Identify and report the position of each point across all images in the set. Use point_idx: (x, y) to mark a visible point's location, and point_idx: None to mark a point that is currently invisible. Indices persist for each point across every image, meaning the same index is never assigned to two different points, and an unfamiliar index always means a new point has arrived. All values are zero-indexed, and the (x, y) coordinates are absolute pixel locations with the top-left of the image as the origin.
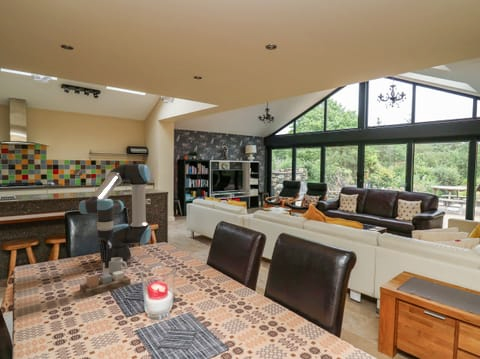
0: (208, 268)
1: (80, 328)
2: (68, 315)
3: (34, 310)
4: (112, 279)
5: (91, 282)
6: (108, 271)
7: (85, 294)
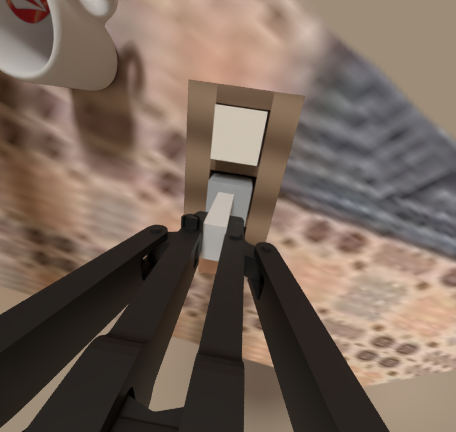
0: None
1: (388, 334)
2: None
3: None
4: (231, 164)
5: None
6: (232, 202)
7: None
